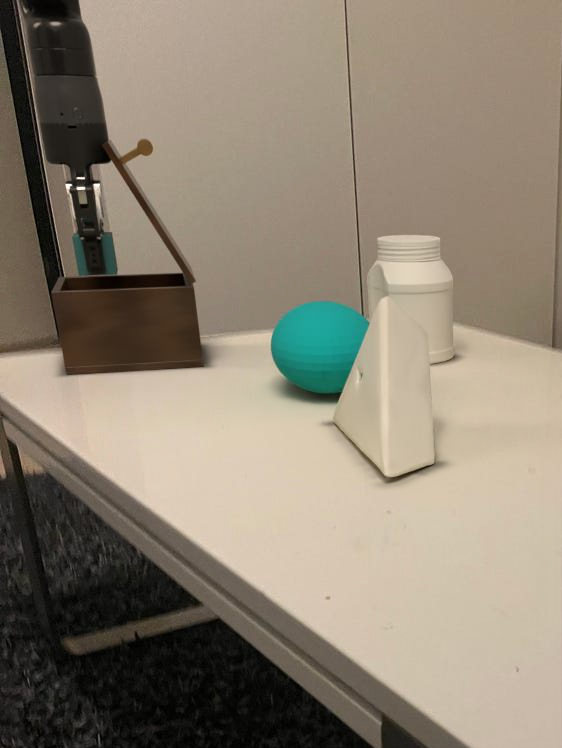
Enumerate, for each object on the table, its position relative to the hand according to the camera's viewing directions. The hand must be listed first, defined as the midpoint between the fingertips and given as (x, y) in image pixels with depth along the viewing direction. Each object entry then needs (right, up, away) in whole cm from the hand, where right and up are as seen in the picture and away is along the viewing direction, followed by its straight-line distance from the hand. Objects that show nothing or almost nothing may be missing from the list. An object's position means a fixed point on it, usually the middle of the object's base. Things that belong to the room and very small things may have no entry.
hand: (97, 269), depth 126 cm
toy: (+31, -18, -8) cm, 37 cm away
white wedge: (+41, -28, -29) cm, 58 cm away
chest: (+3, -10, +6) cm, 12 cm away
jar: (+40, -9, +9) cm, 41 cm away
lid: (+7, +7, -1) cm, 10 cm away
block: (0, 0, 0) cm, 0 cm away
